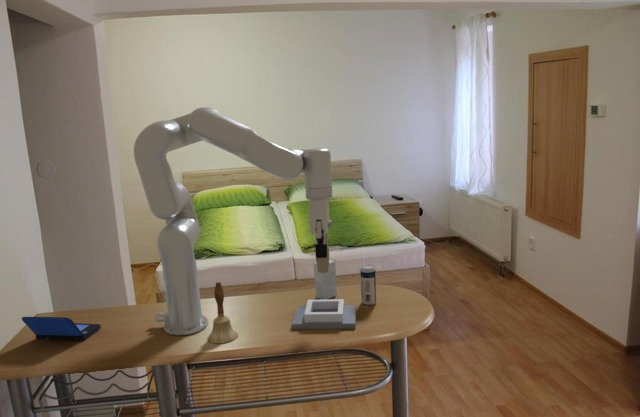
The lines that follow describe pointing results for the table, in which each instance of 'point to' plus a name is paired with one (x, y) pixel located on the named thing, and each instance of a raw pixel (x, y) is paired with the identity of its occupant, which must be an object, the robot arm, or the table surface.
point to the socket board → (325, 315)
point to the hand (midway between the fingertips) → (322, 254)
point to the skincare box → (325, 282)
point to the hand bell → (221, 321)
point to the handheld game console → (59, 328)
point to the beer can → (368, 285)
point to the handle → (323, 262)
